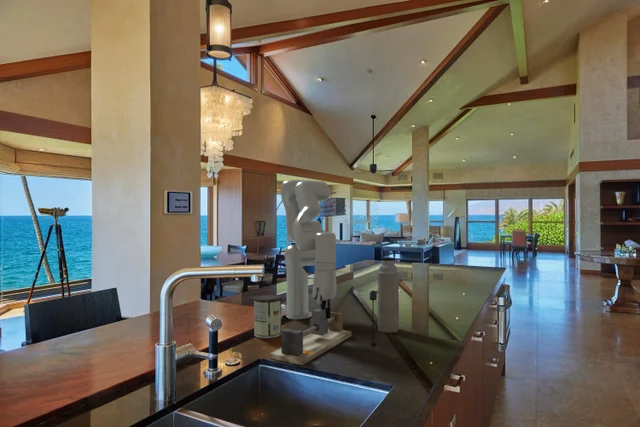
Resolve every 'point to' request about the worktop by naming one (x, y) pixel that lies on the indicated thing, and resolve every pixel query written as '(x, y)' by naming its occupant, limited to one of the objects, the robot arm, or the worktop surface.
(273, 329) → the coffee can
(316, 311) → the sleeve
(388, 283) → the thermos bottle
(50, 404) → the worktop surface
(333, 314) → the rail
